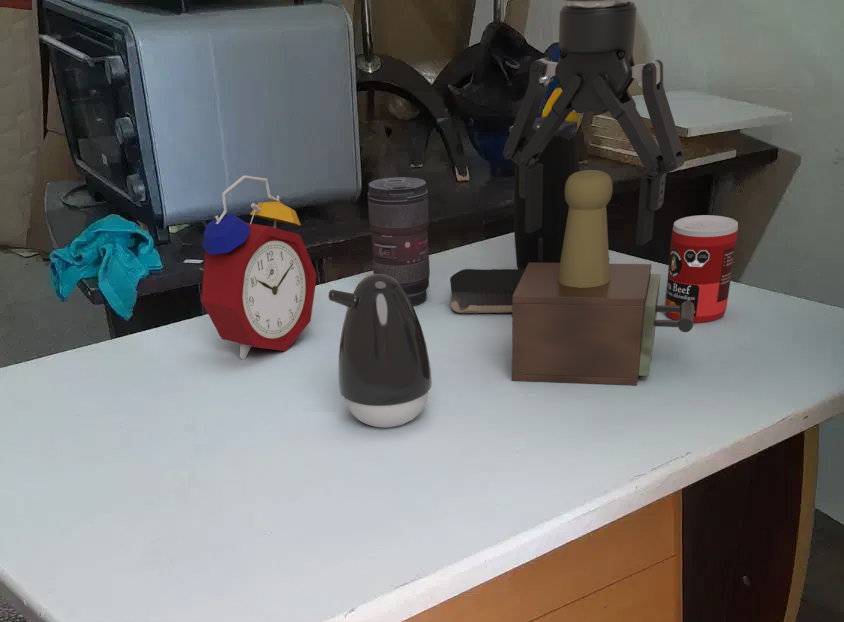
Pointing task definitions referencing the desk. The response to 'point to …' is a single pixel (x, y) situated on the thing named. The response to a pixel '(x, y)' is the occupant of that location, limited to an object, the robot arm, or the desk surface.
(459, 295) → the scrub brush
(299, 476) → the desk surface
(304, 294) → the alarm clock
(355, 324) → the pump dispenser
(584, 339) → the cabinet
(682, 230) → the canned food
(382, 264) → the camera lens
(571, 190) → the tan game pawn
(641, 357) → the drawer
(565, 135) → the portable speaker
